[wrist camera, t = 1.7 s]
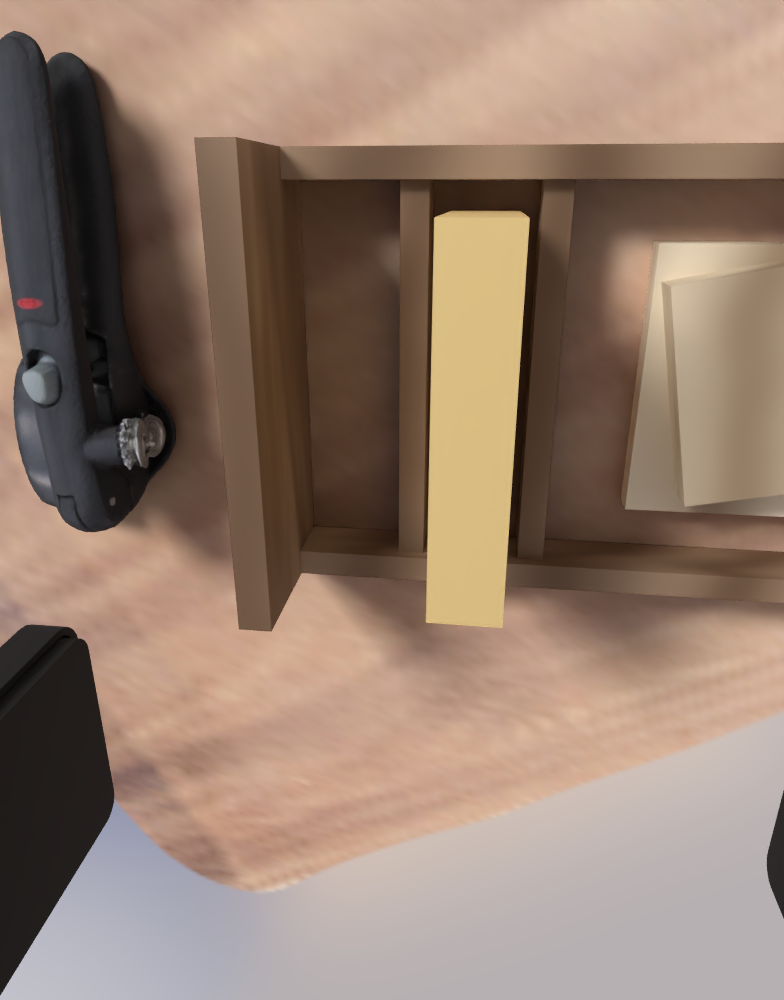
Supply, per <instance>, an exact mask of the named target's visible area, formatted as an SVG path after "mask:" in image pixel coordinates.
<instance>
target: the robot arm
mask: <svg viewBox="0 0 784 1000" xmlns="http://www.w3.org/2000/svg"><path fill="white" fill-rule="evenodd" d="M113 803H114V788H113V783H112V777H111V771H110V766H109V760H108V755H107V749H106V743H105V738H104V732H103V727H102V721H101V716H100V710H99V704H98V699H97V693H96V688H95V682H94V676H93V671H92V665H91V660H90V654H89V649H88V646H87V643H86V642H85V641H84V640H83V639H78V637H77V634H76V633H75V632H74V630H73V629H71V628H69V627H59V626H45V625H26V626H24V627H23V628H21V629H20V630H19V631H18V632H17V633H15V634H14V635H13V636H12V637H11V638H10V639H9V640H8V641H7V642H6V643H5V644H3V645H2V646H1V647H0V995H1V993H2V992H3V990H4V989H5V987H6V985H7V983H8V982H9V980H10V979H11V977H12V975H13V974H14V972H15V971H16V969H17V967H18V966H19V964H20V962H21V961H22V959H23V958H24V956H25V954H26V953H27V951H28V949H29V948H30V946H31V945H32V943H33V941H34V940H35V938H36V936H37V935H38V933H39V932H40V930H41V928H42V927H43V925H44V923H45V922H46V920H47V919H48V917H49V915H50V914H51V912H52V910H53V909H54V907H55V905H56V904H57V902H58V901H59V899H60V897H61V896H62V894H63V892H64V890H65V889H66V888H67V886H68V884H69V883H70V881H71V879H72V878H73V876H74V875H75V873H76V871H77V870H78V868H79V866H80V865H81V863H82V861H83V860H84V858H85V857H86V855H87V853H88V852H89V850H90V849H91V847H92V845H93V844H94V842H95V840H96V839H97V837H98V835H99V834H100V832H101V831H102V829H103V827H104V826H105V824H106V822H107V821H108V819H109V817H110V814H111V811H112V807H113ZM767 871H768V878H769V882H770V885H771V888H772V891H773V893H774V896H775V898H776V901H777V903H778V906H779V908H780V910H781V913H782V915H783V918H784V792H783V796H782V799H781V803H780V808H779V811H778V815H777V819H776V823H775V827H774V831H773V835H772V838H771V842H770V846H769V850H768V855H767Z"/></svg>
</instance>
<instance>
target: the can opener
mask: <svg viewBox="0 0 784 1000" xmlns="http://www.w3.org/2000/svg"><path fill="white" fill-rule="evenodd" d="M0 216H1V225H2V233H3V240H4V247H5V254H6V262H7V268H8V275H9V282H10V288H11V293H12V300H13V306H14V311H15V317H16V324H17V328H18V334H19V340H20V345H21V350H22V356H23V359H22V360H21V362H20V364H19V366H18V369H17V373H16V378H15V386H14V397H13V399H14V418H15V428H16V434H17V440H18V445H19V450H20V454H21V457H22V462H23V464H24V467H25V470H26V473H27V476H28V479H29V481H30V483H31V485H32V487H33V489H34V491H35V492H36V493H37V495H38V496H39V497H40V499H41V500H42V501H43V502H45V503H47V504H49V505H52V506H55V507H57V509H58V511H59V513H60V515H61V517H62V518H63V520H64V521H65V522H66V523H68V524H69V525H70V526H72V527H74V528H76V529H78V530H81V531H85V532H97V531H104V530H107V529H109V528H112V527H115V526H116V525H118V524H119V523H120V522H121V521H122V520H123V519H124V518H125V516H127V515H128V514H129V512H130V511H132V510H133V508H134V507H135V506H136V505H137V503H138V502H139V500H140V499H141V497H142V496H143V493H144V491H145V488H146V486H147V483H148V482H149V481H150V479H151V478H152V477H153V476H154V475H155V474H156V473H157V472H158V471H159V470H160V469H161V468H162V467H163V466H164V464H165V463H166V462H167V460H168V458H169V457H170V455H171V453H172V450H173V448H174V445H175V440H176V428H175V423H174V421H173V418H172V416H171V414H170V412H169V410H168V409H167V408H166V406H165V405H164V404H163V402H162V401H161V400H160V399H159V398H158V397H157V396H156V395H155V394H154V392H153V391H152V390H151V389H150V388H149V387H148V386H147V384H146V383H145V382H144V381H143V379H142V377H141V376H140V373H139V371H138V368H137V365H136V363H135V359H134V356H133V353H132V350H131V347H130V343H129V338H128V334H127V329H126V323H125V316H124V308H123V295H122V282H121V269H120V256H119V244H118V231H117V221H116V209H115V200H114V191H113V183H112V175H111V168H110V162H109V155H108V149H107V143H106V137H105V132H104V126H103V121H102V116H101V112H100V106H99V102H98V98H97V92H96V87H95V83H94V80H93V78H92V75H91V73H90V71H89V69H88V67H87V66H86V64H85V63H84V62H83V61H82V60H81V59H80V58H78V57H77V56H75V55H74V54H72V53H68V52H62V53H58V54H57V55H55V56H53V57H52V58H51V59H50V60H49V61H48V63H47V64H46V61H45V58H44V55H43V53H42V51H41V49H40V47H39V45H38V44H37V42H36V41H35V40H34V39H33V38H31V37H30V36H28V35H27V34H24V33H22V32H17V31H13V32H10V33H8V34H6V35H5V36H4V37H3V38H1V39H0Z"/></svg>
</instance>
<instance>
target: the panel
mask: <svg viewBox="0 0 784 1000" xmlns="http://www.w3.org/2000/svg"><path fill="white" fill-rule="evenodd" d="M529 221H530V218H529V217H528V216H527V215H525V214H524V213H523V212H521V211H520V210H452V211H450V212H447V213H444V214H442V215H439V216H437V217H434V256H433V304H432V352H431V400H430V448H429V497H428V545H427V593H426V623H439V624H453V625H467V626H482V627H496V628H502V626H503V611H504V596H505V581H506V566H507V551H508V536H509V521H510V506H511V491H512V476H513V461H514V446H515V431H516V416H517V401H518V386H519V371H520V356H521V341H522V326H523V311H524V296H525V281H526V266H527V251H528V236H529Z"/></svg>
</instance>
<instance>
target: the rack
mask: <svg viewBox="0 0 784 1000" xmlns="http://www.w3.org/2000/svg"><path fill="white" fill-rule="evenodd" d="M194 140H195V151H196V162H197V173H198V184H199V195H200V206H201V217H202V228H203V239H204V250H205V261H206V272H207V283H208V294H209V305H210V316H211V327H212V338H213V349H214V360H215V371H216V382H217V393H218V404H219V415H220V426H221V437H222V448H223V459H224V470H225V481H226V491H227V502H228V513H229V524H230V535H231V546H232V557H233V568H234V579H235V590H236V601H237V612H238V623H239V629H243V630H257V631H272V629H273V627H274V625H275V623H276V621H277V620H278V618H279V616H280V614H281V612H282V610H283V608H284V606H285V604H286V602H287V600H288V598H289V596H290V594H291V592H292V590H293V588H294V587H295V585H296V583H297V581H298V579H299V577H300V575H301V573H311V574H327V575H343V576H358V577H374V578H390V579H406V580H422V581H427V545H428V532H427V520H428V472H429V423H430V374H431V326H432V277H433V228H434V180H541V194H540V208H539V222H538V236H537V250H536V264H535V278H534V292H533V306H532V320H531V334H530V348H529V362H528V376H527V390H526V405H525V419H524V433H523V447H522V461H521V475H520V489H519V503H518V517H517V531H516V537H508V551H507V566H506V581H505V586H517V587H533V588H549V589H564V590H580V591H596V592H612V593H628V594H644V595H660V596H675V597H691V598H707V599H723V600H739V601H755V602H770V603H784V552H771V551H753V550H735V549H717V548H699V547H681V546H663V545H645V544H627V543H608V542H590V541H572V540H554V539H544V537H545V526H546V514H547V503H548V491H549V480H550V468H551V457H552V445H553V434H554V423H555V411H556V400H557V388H558V377H559V365H560V354H561V342H562V331H563V319H564V308H565V296H566V285H567V274H568V262H569V251H570V239H571V228H572V216H573V205H574V193H575V182H576V180H784V143H713V144H574V145H435V146H297V147H279V146H274V145H270V144H265V143H260V142H256V141H251V140H246V139H242V138H237V137H202V138H194ZM327 180H400V374H399V531H391V530H373V529H355V528H337V527H319V526H314V511H313V488H312V465H311V442H310V419H309V396H308V373H307V350H306V327H305V304H304V281H303V258H302V235H301V212H300V189H299V181H327Z"/></svg>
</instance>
